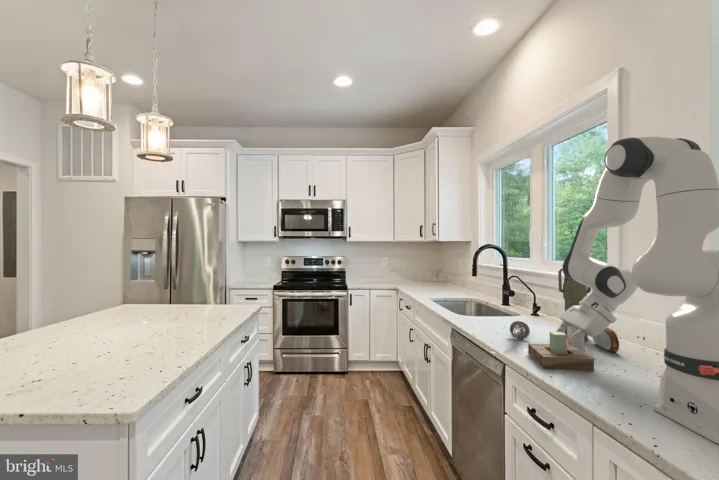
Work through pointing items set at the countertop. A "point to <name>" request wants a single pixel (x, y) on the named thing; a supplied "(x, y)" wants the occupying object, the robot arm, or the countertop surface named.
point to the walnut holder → (561, 358)
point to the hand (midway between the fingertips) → (564, 336)
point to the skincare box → (579, 342)
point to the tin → (607, 340)
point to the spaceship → (519, 330)
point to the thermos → (572, 293)
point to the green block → (558, 343)
